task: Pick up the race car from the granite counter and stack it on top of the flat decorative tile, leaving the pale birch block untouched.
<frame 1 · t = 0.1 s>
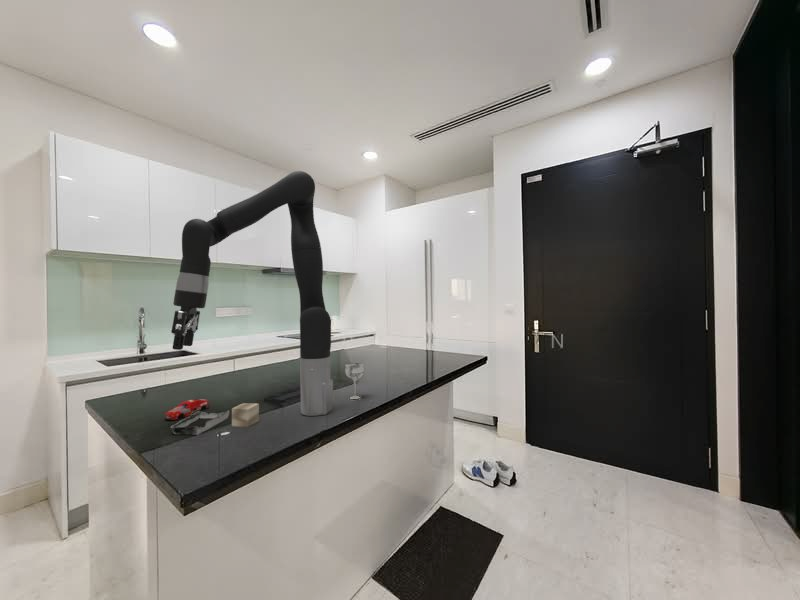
hand: (182, 347, 87), 22 cm above the table, tool pointing down, fingers open, 8 cm apart
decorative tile: (199, 427, 88), on the table
race car: (187, 415, 98), on the table
birch block: (245, 423, 89), on the table
wineglass: (354, 398, 112), on the table
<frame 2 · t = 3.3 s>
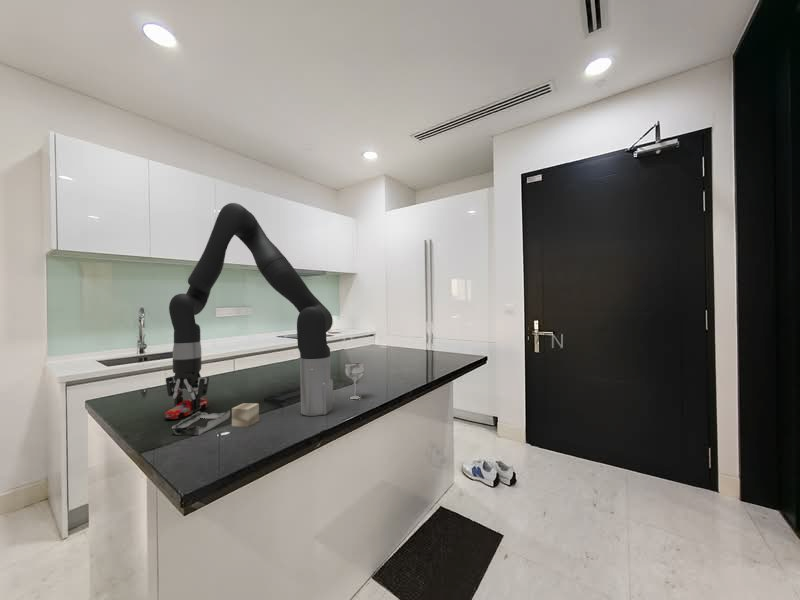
hand: (187, 409, 98), 1 cm above the table, tool pointing down, fingers closed on race car, 5 cm apart
race car: (187, 414, 98), on the table, touching gripper
when the fingers open (5 cm above the table, at t = 8.7 s): race car drops 2 cm, resting on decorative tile.
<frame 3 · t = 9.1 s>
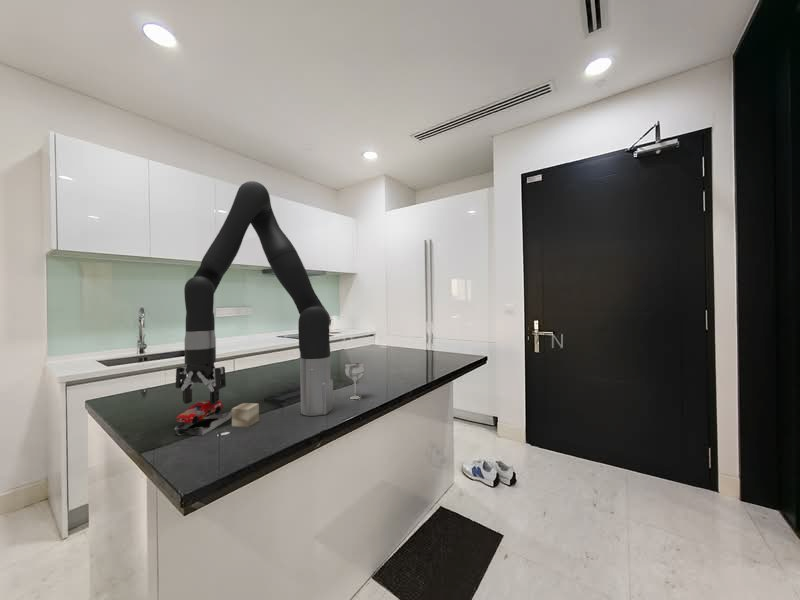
hand: (200, 403, 88), 6 cm above the table, tool pointing down, fingers open, 8 cm apart
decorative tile: (202, 428, 87), on the table, touching race car
race car: (200, 418, 88), point 2 cm above the table, touching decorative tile
everything else where it was.
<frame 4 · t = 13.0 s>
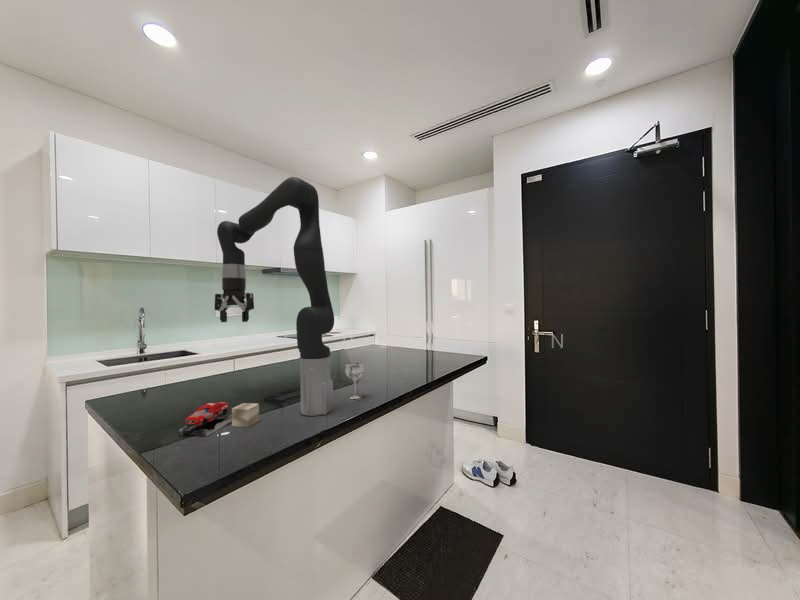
hand: (234, 322, 113), 28 cm above the table, tool pointing down, fingers open, 8 cm apart
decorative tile: (207, 431, 87), on the table, touching race car
race car: (208, 420, 88), point 2 cm above the table, touching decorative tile
everything else where it was.
at the end: race car inside the target area on the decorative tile (0.9 cm from its centre), point 2.8 cm above the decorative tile's base; race car tilted 0°; the gripper is holding nothing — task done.
